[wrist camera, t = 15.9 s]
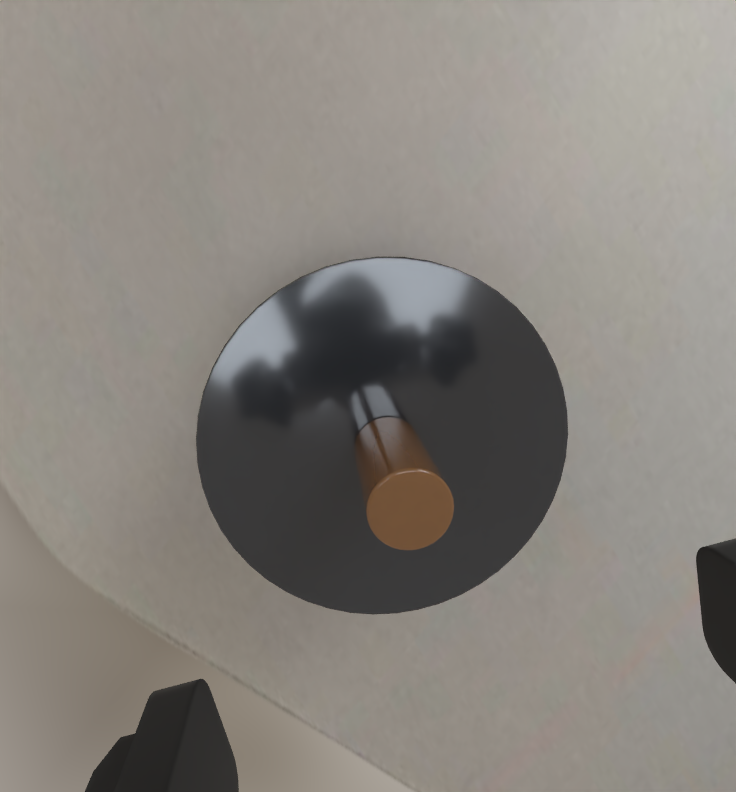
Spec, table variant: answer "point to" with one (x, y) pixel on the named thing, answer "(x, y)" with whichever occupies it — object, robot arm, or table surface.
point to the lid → (382, 435)
